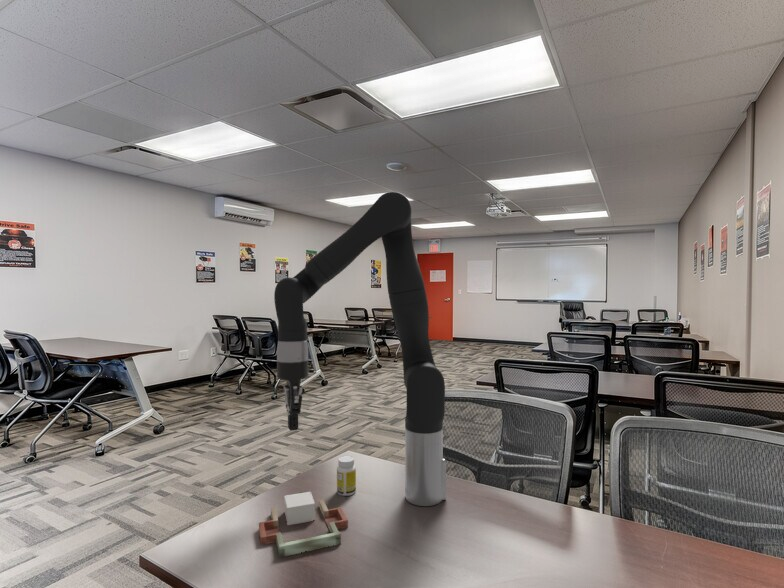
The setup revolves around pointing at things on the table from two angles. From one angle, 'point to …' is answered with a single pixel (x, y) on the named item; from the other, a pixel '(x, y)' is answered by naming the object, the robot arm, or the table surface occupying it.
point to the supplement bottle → (346, 476)
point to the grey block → (299, 508)
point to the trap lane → (334, 521)
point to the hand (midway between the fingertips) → (293, 428)
